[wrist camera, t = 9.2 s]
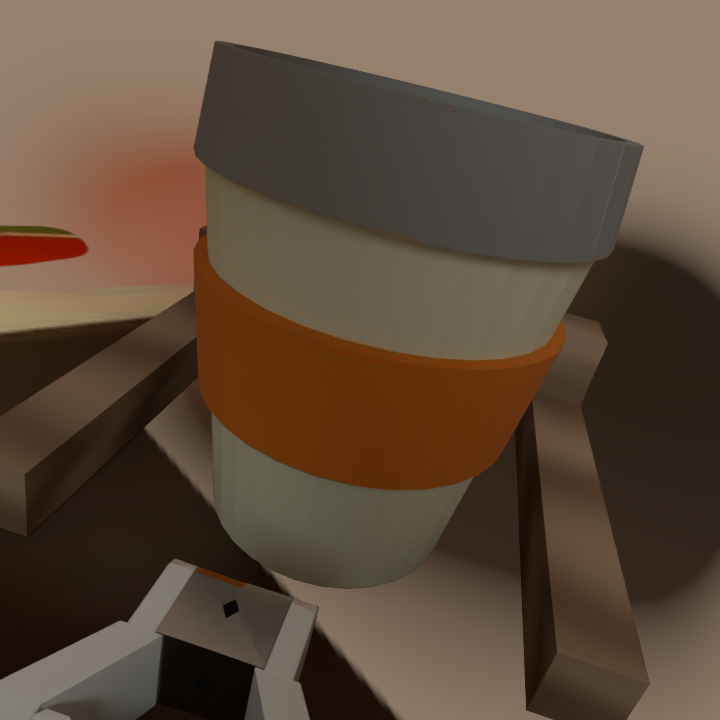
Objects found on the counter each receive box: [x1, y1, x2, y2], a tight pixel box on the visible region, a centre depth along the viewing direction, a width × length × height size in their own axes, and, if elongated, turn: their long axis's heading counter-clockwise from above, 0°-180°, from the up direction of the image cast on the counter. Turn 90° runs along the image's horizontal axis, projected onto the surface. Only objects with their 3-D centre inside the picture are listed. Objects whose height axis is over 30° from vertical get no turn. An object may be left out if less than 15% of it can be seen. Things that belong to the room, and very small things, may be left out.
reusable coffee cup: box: [194, 41, 644, 589], centre depth 20 cm, size 12×13×15 cm
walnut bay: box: [0, 226, 650, 720], centre depth 25 cm, size 19×21×6 cm
